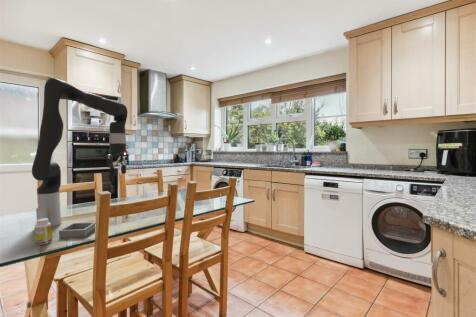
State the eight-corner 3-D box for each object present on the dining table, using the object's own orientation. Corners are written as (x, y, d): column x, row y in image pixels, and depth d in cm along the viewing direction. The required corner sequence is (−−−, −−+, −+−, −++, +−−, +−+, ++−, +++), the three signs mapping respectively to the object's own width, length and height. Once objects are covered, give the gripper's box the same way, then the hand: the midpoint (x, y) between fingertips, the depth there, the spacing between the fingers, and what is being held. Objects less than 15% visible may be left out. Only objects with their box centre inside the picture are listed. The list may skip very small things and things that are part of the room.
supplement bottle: (50, 239, 112) (48, 216, 111) (53, 242, 108) (52, 219, 108) (34, 243, 108) (32, 219, 107) (37, 246, 104) (36, 222, 103)
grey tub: (59, 238, 113) (58, 230, 113) (73, 230, 124) (72, 223, 123) (84, 237, 114) (84, 229, 113) (96, 229, 125) (96, 222, 124)
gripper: (120, 142, 135) (120, 172, 136) (101, 142, 121) (101, 176, 122) (132, 142, 133) (133, 173, 134) (115, 142, 119) (115, 176, 120)
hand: (118, 174), depth 128 cm, fingers open, 8 cm apart
